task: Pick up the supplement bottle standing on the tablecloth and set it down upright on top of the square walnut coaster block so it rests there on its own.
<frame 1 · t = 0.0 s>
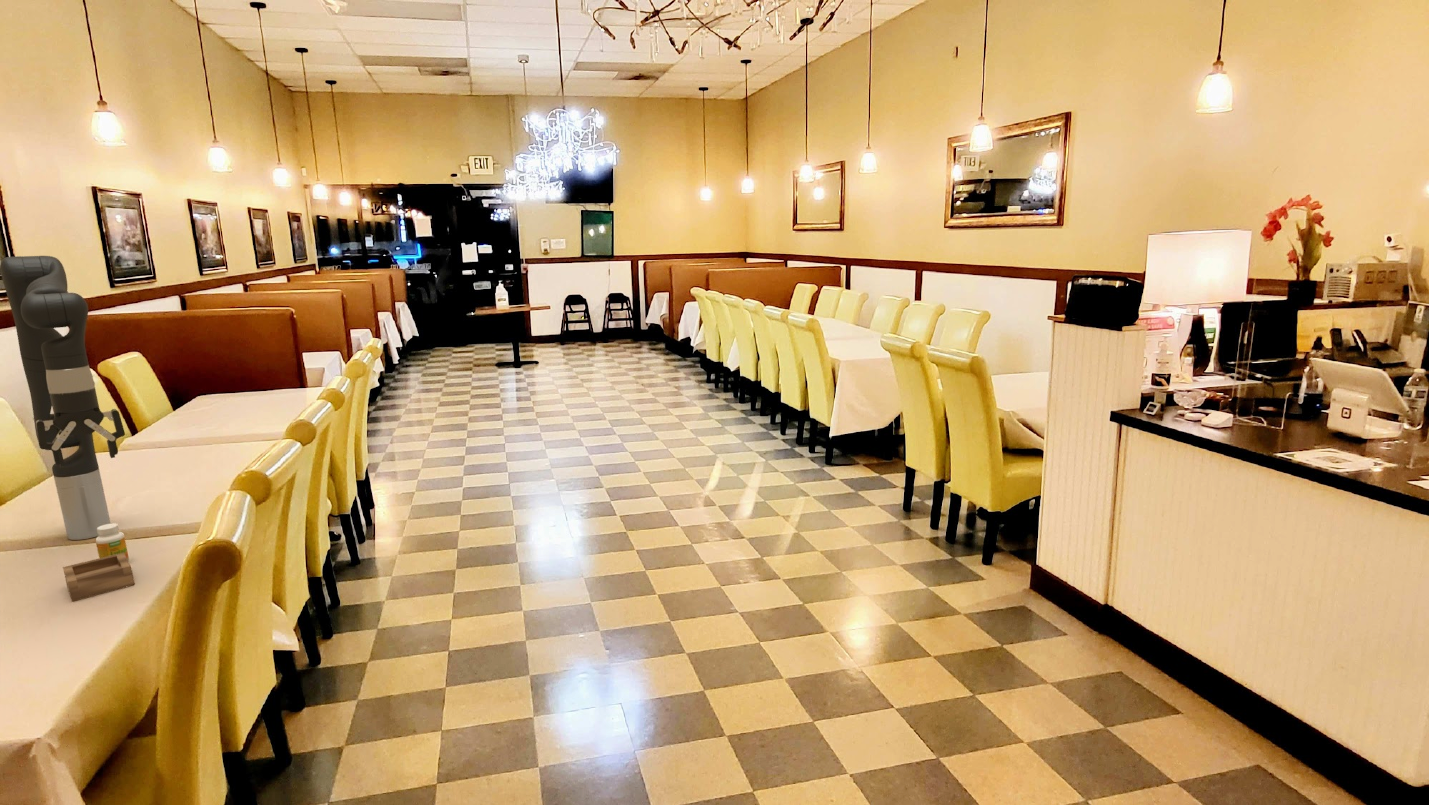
hand: (87, 461, 164), 29 cm above the table, tool pointing down, fingers open, 8 cm apart
supplement bottle: (115, 565, 182), on the table
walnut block: (100, 585, 171), on the table
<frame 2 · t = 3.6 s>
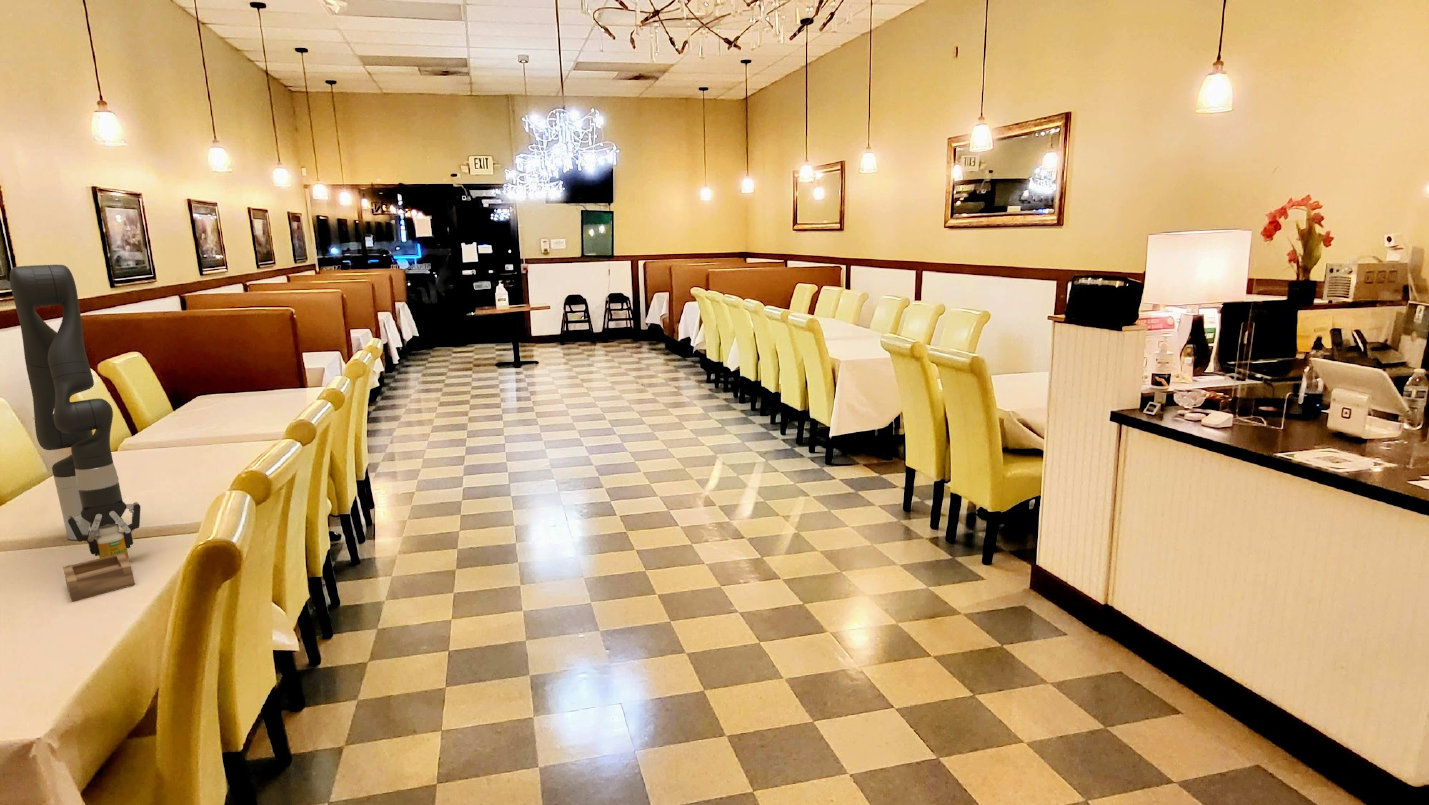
hand: (112, 550, 182), 3 cm above the table, tool pointing down, fingers closed on supplement bottle, 5 cm apart
supplement bottle: (115, 564, 182), on the table, touching gripper
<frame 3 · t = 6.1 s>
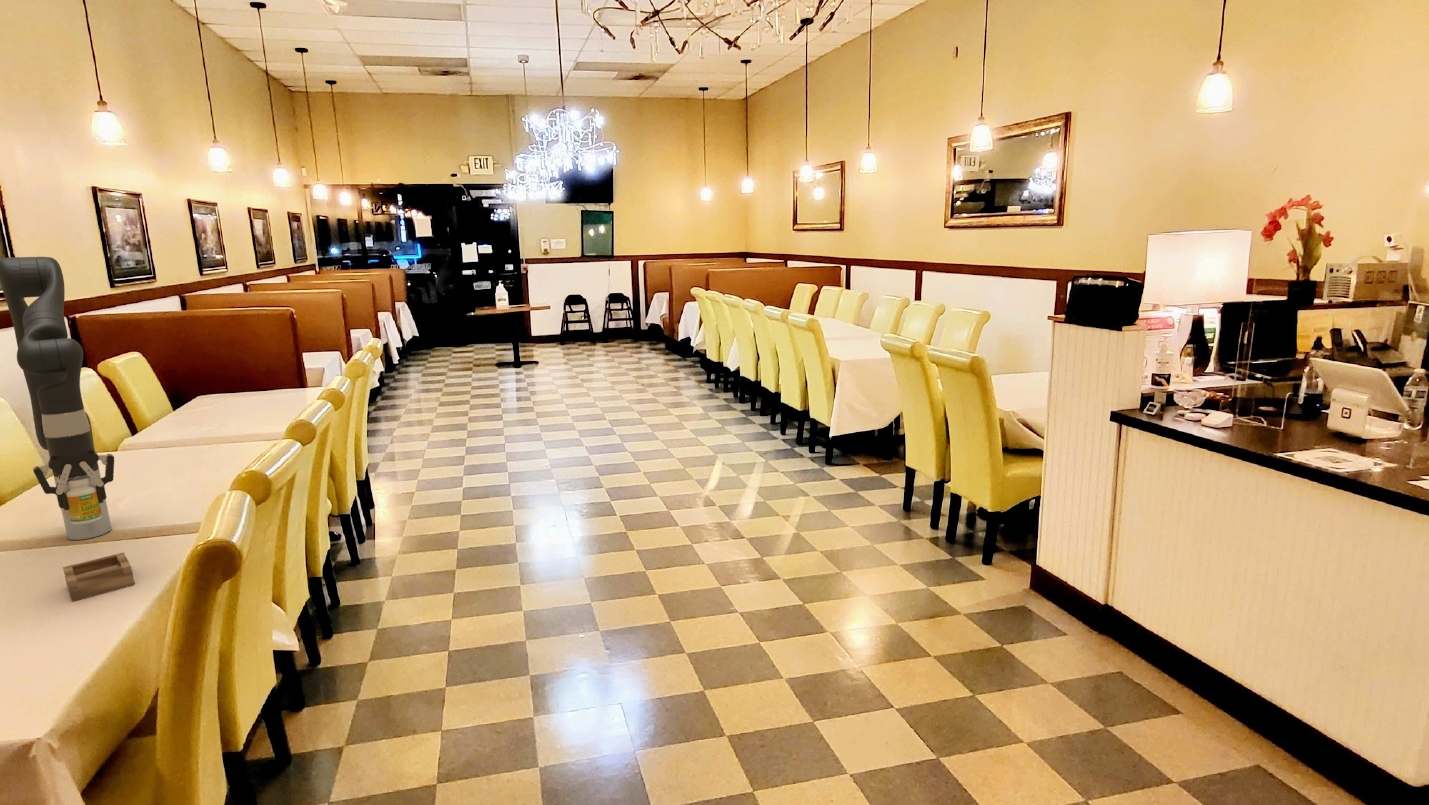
hand: (83, 505, 167), 19 cm above the table, tool pointing down, fingers closed on supplement bottle, 5 cm apart
supplement bottle: (87, 521, 168), point 15 cm above the table, touching gripper
when the fingers open (7 cm above the table, at t = 9.0 s): supplement bottle stays where it is, resting on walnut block.
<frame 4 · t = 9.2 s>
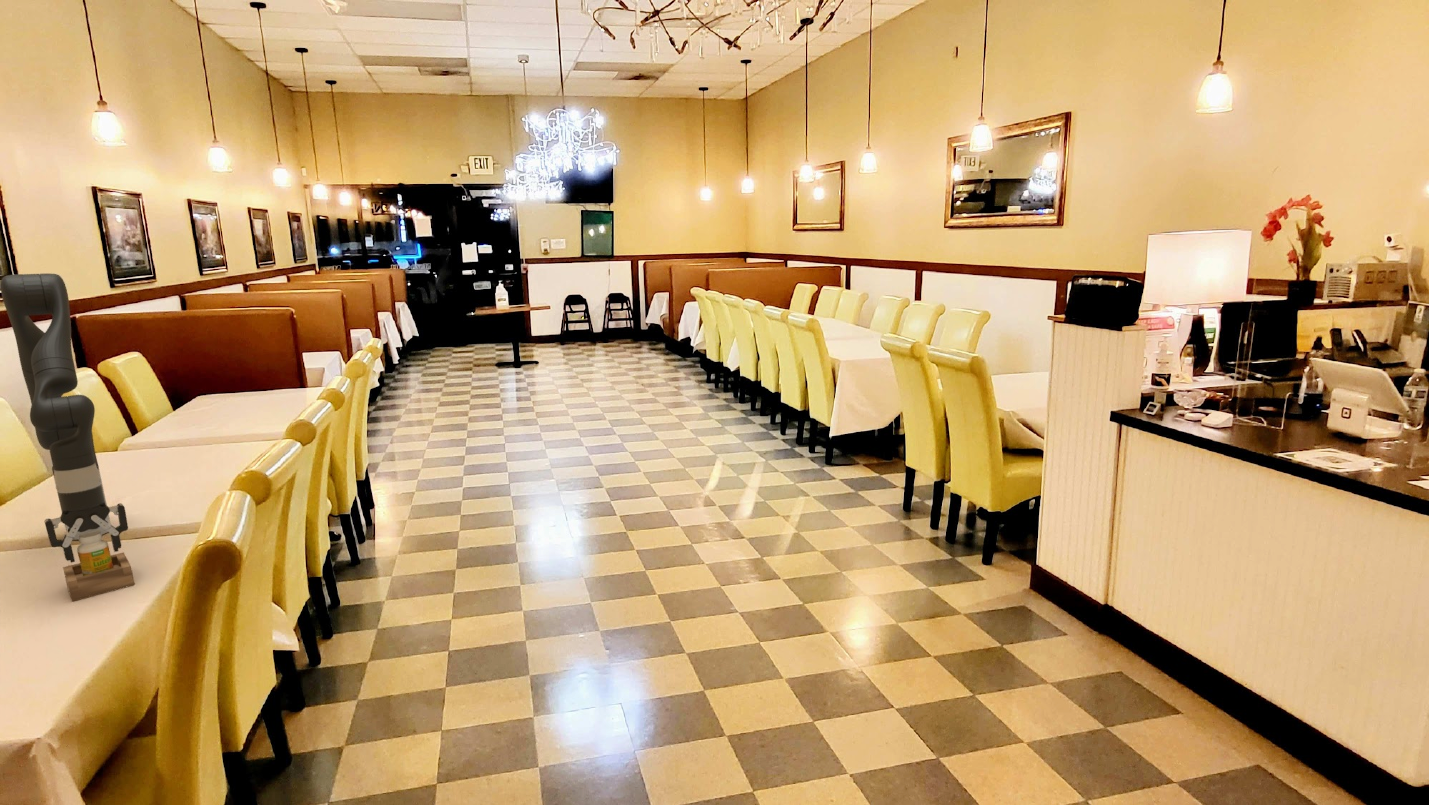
hand: (94, 555, 170), 7 cm above the table, tool pointing down, fingers open, 7 cm apart
supplement bottle: (99, 575, 171), point 2 cm above the table, touching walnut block
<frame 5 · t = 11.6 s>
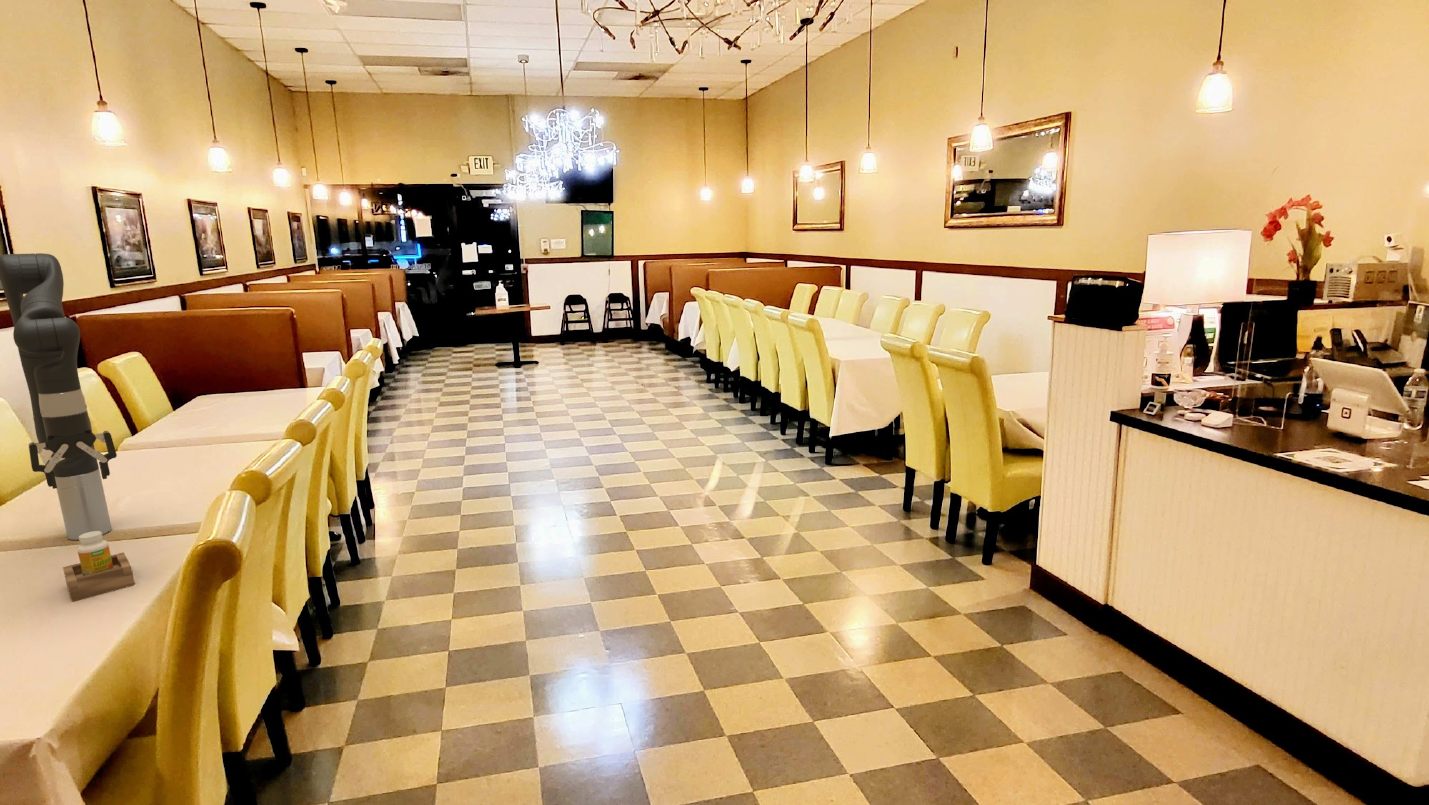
hand: (80, 483, 167), 24 cm above the table, tool pointing down, fingers open, 8 cm apart
nothing on the table moved.
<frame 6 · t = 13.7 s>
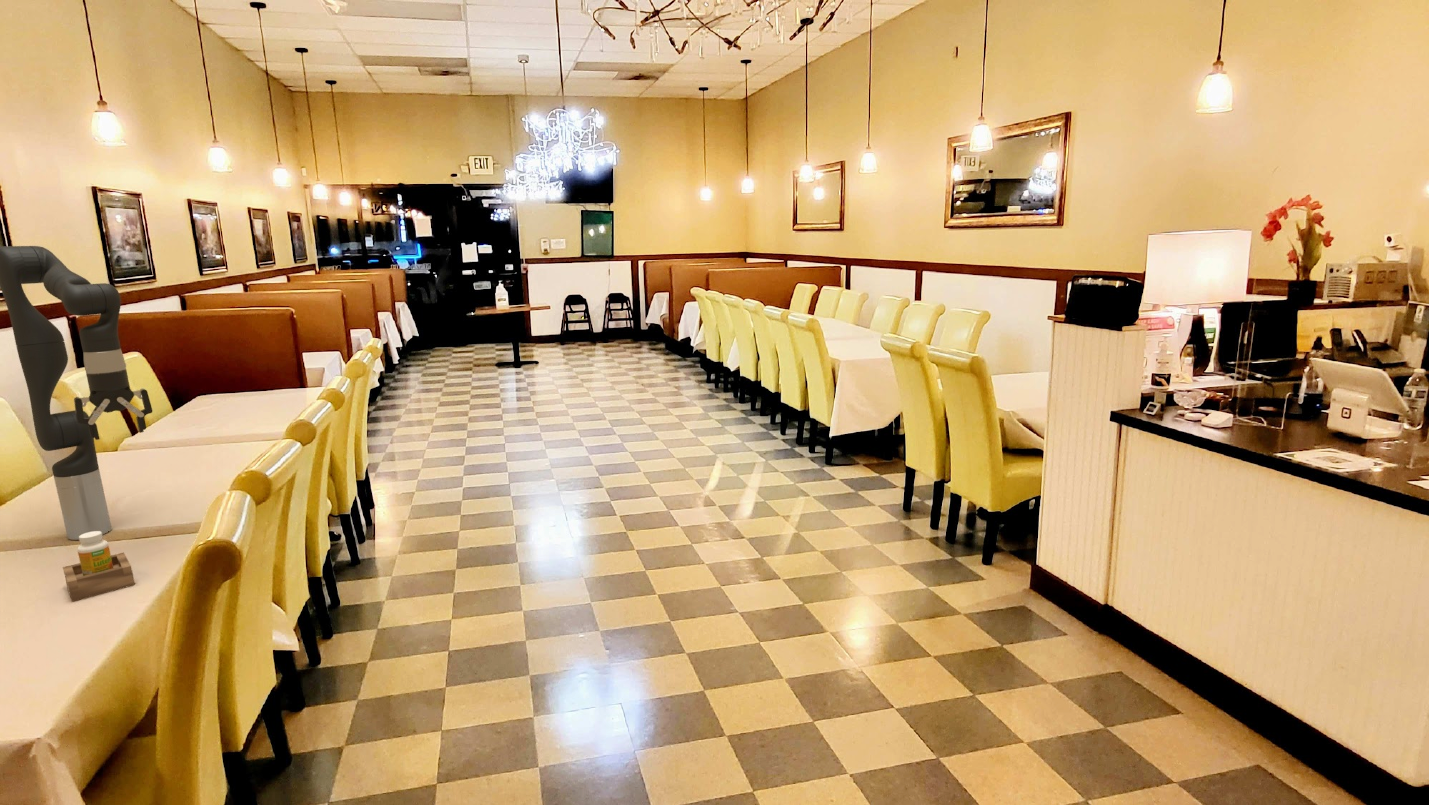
hand: (119, 435, 183), 30 cm above the table, tool pointing down, fingers open, 8 cm apart
nothing on the table moved.
at the end: supplement bottle inside the target area on the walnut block (0.1 cm from its centre), point 2.3 cm above the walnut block's base; supplement bottle tilted 0°; the gripper is holding nothing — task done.
